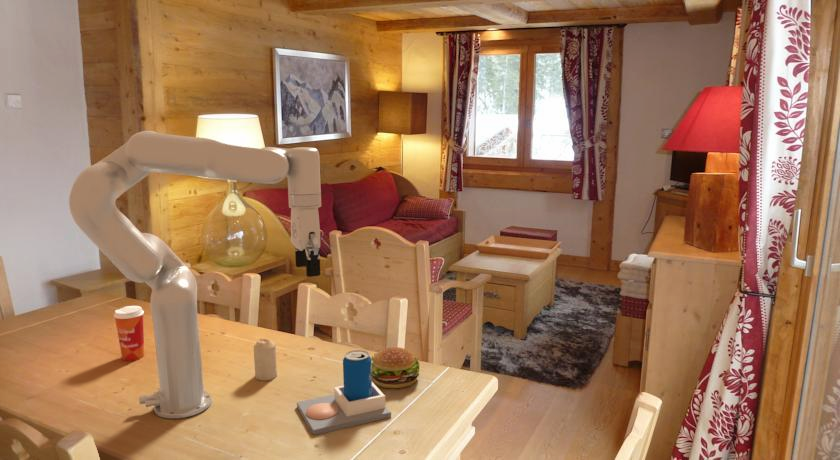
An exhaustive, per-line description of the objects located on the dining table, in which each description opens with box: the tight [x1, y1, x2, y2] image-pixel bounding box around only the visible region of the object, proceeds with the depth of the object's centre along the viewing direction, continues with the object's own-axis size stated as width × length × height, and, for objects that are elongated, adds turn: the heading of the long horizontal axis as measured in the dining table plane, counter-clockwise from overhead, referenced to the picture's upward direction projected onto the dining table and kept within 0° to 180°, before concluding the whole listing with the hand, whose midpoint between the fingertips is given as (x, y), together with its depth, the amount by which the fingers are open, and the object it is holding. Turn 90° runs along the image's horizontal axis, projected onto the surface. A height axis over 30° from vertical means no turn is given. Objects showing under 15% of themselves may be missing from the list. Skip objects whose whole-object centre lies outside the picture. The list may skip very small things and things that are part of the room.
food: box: [370, 346, 420, 389], centre depth 159 cm, size 14×14×8 cm
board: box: [296, 381, 392, 436], centre depth 143 cm, size 18×14×4 cm
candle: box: [253, 338, 278, 382], centre depth 161 cm, size 6×6×10 cm
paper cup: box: [113, 305, 145, 362], centre depth 173 cm, size 8×8×14 cm
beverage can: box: [342, 349, 373, 402], centre depth 143 cm, size 6×6×12 cm
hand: (307, 271), depth 149 cm, fingers open, 9 cm apart
